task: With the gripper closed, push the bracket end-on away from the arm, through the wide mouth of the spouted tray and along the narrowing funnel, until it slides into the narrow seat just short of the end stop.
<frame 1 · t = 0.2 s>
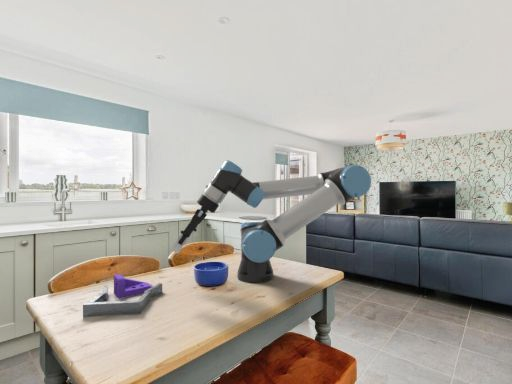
hand: (178, 247, 101), 16 cm above the table, tool tilted 35°, fingers open, 13 cm apart
spouted tray: (124, 302, 91), on the table
bracket: (134, 293, 101), on the table
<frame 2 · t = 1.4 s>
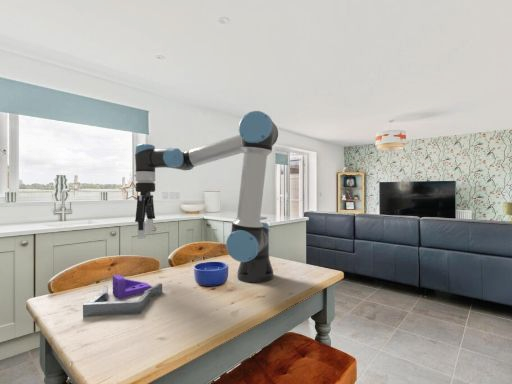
hand: (145, 236, 115), 18 cm above the table, tool pointing down, fingers open, 10 cm apart
nothing on the table moved.
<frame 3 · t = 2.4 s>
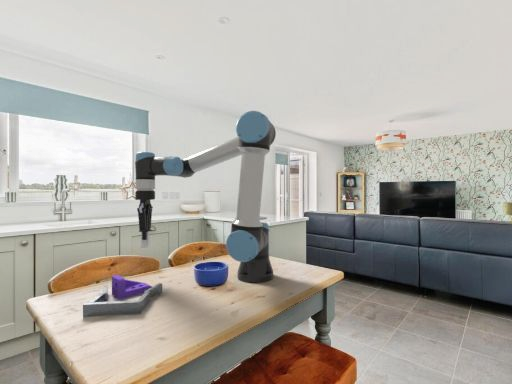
hand: (145, 247, 115), 13 cm above the table, tool pointing down, fingers closed
nothing on the table moved.
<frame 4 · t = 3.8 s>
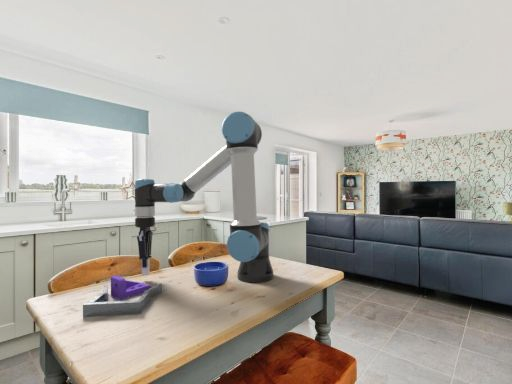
hand: (145, 274, 114), 2 cm above the table, tool pointing down, fingers closed
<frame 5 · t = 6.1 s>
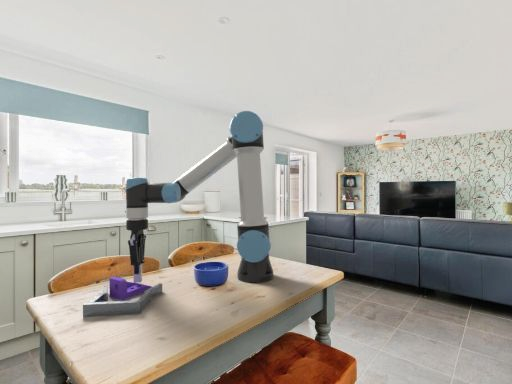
hand: (137, 281, 105), 2 cm above the table, tool pointing down, fingers closed
bracket: (131, 294, 100), on the table, touching gripper
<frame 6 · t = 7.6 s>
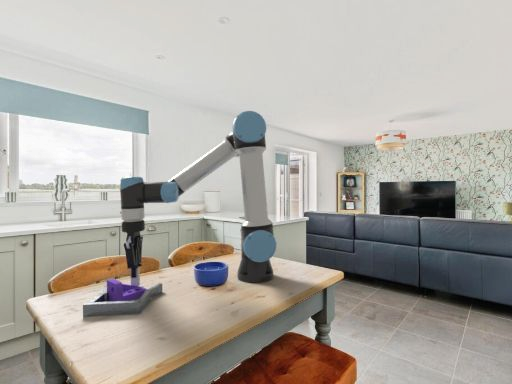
hand: (135, 285, 100), 3 cm above the table, tool pointing down, fingers closed
bracket: (129, 298, 95), on the table, touching gripper, spouted tray
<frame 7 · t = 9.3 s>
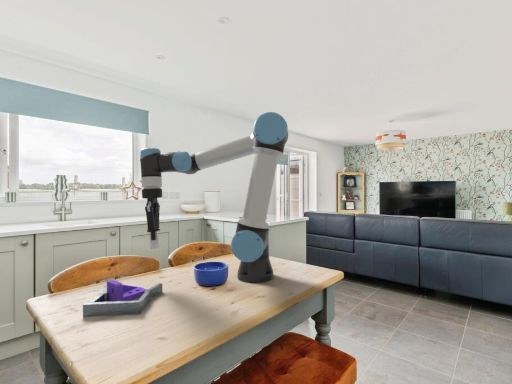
hand: (154, 248, 109), 14 cm above the table, tool pointing down, fingers closed
bracket: (129, 299, 95), on the table
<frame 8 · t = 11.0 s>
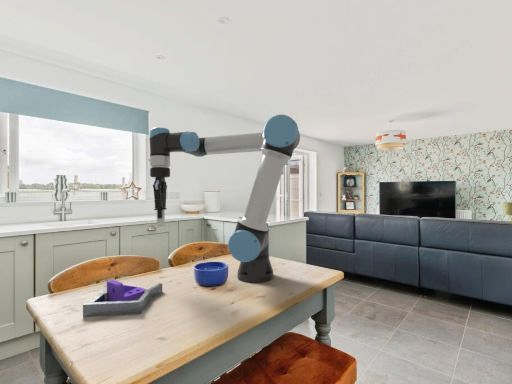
hand: (160, 226, 111), 22 cm above the table, tool pointing down, fingers closed
nothing on the table moved.
at the end: bracket inside the target area on the spouted tray (3.7 cm from its centre), point -0.6 cm above the spouted tray's base; bracket tilted 0° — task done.
